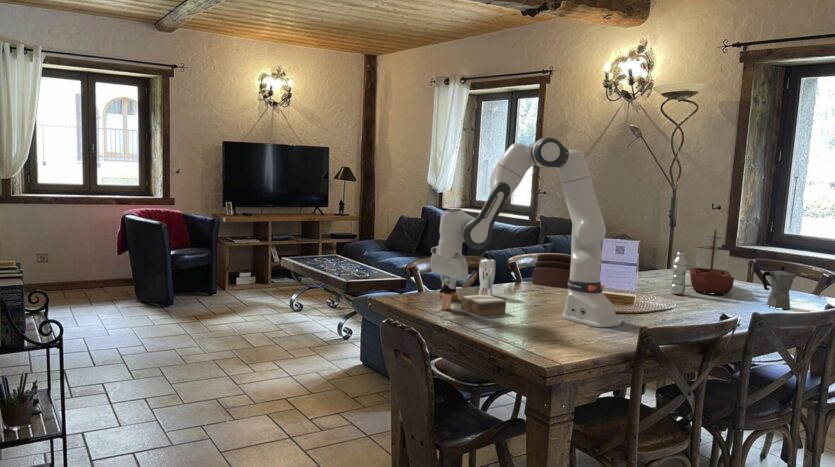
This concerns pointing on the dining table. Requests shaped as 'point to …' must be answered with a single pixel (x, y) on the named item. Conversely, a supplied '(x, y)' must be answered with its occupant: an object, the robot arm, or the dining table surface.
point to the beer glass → (486, 276)
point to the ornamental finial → (452, 295)
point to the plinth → (483, 305)
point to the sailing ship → (712, 268)
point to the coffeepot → (779, 288)
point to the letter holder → (552, 270)
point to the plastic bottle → (679, 273)
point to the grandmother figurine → (446, 295)
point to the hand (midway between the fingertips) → (448, 287)
